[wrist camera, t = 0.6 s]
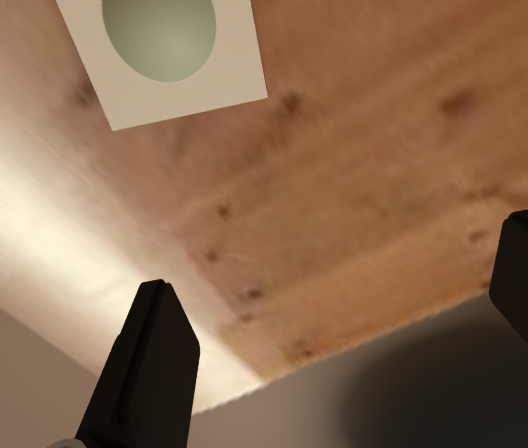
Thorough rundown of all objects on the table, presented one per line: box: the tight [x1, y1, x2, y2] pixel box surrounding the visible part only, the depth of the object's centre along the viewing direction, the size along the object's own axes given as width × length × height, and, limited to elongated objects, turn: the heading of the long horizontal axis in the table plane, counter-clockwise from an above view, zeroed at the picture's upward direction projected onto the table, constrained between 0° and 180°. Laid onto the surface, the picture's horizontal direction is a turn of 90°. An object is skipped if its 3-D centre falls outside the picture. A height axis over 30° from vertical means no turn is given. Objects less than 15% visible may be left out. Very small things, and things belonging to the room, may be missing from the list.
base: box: [56, 0, 268, 131], centre depth 28 cm, size 15×15×3 cm
